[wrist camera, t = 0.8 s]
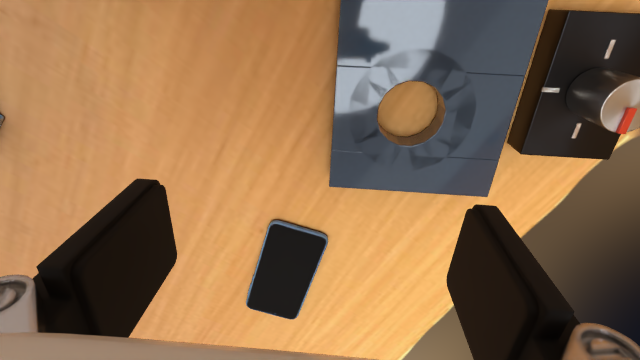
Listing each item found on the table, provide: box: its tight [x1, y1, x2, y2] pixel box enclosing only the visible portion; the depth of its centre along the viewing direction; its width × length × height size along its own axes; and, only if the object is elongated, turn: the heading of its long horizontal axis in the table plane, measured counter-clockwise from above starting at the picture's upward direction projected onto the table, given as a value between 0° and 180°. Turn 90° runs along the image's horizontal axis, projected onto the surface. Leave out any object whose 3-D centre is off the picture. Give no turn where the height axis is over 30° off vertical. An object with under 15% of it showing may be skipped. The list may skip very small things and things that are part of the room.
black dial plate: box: [508, 9, 640, 160], centre depth 30 cm, size 12×8×3 cm
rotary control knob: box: [566, 68, 640, 134], centre depth 27 cm, size 4×4×5 cm
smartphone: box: [246, 220, 328, 319], centre depth 44 cm, size 7×1×15 cm
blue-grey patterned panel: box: [329, 0, 548, 197], centre depth 32 cm, size 18×16×2 cm
